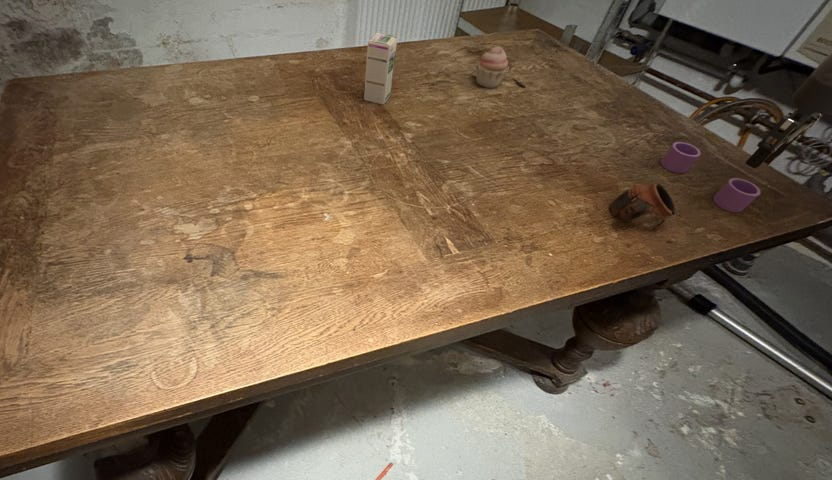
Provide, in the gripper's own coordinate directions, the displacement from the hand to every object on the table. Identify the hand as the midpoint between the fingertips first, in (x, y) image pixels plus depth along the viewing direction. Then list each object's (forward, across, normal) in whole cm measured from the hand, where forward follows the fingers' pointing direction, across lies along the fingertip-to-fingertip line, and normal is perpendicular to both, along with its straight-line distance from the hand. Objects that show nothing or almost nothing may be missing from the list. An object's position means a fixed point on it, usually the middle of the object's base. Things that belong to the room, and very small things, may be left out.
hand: (761, 160), depth 83 cm
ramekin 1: (+9, -1, +12) cm, 15 cm away
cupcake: (+9, -13, +62) cm, 65 cm away
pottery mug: (+9, -27, +6) cm, 29 cm away
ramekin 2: (+9, -3, -2) cm, 10 cm away
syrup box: (+8, -47, +69) cm, 84 cm away
